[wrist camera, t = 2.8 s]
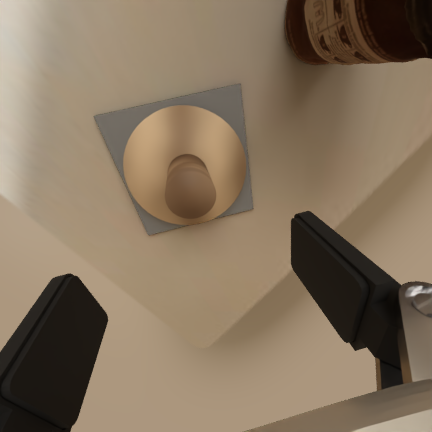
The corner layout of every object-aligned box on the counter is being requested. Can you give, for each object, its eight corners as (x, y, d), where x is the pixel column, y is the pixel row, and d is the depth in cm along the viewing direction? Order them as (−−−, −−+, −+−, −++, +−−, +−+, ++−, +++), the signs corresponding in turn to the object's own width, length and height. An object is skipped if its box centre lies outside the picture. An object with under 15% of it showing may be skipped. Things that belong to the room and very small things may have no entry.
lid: (235, 91, 17) (260, 89, 12) (248, 206, 22) (269, 238, 17) (102, 121, 16) (68, 132, 11) (151, 230, 22) (143, 270, 17)
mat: (239, 83, 17) (240, 83, 16) (252, 207, 23) (253, 209, 23) (95, 115, 16) (93, 116, 16) (148, 233, 23) (148, 235, 22)
